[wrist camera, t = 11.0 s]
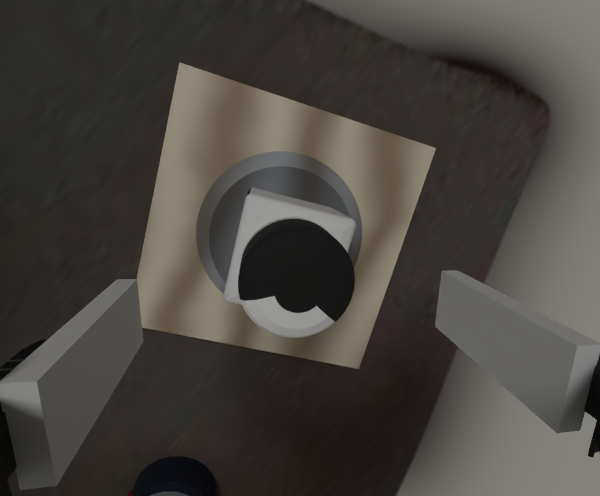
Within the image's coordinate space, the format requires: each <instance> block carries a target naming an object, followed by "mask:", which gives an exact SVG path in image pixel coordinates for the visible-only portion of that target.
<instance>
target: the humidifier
mask: <svg viewBox="0 0 600 496" xmlns="http://www.w3.org/2000/svg"><path fill="white" fill-rule="evenodd" d="M214 491H215V481H214V478H213V475H212V473H211V472H210V471H209V470H208V468H207V467H206V466H205V465H203V464H202V463H200V462H198V461H197V460H194V459H190V458H187V457H168V458H164V459H160V460H157V461H155V462H154V463H152V464H150V465H148V466H147V467H146V468H145V469H144V470H143V471H142V472H141V473H140V474H139V477H138V479H137V481H136V483H135V486H134V488H133V490H130V491H129V493H128V496H214Z"/></svg>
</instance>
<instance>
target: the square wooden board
mask: <svg viewBox="0 0 600 496" xmlns="http://www.w3.org/2000/svg"><path fill="white" fill-rule="evenodd" d="M435 150H436V148H434V147H431V146H428V145H425V144H422V143H419V142H416V141H413V140H410V139H407V138H404V137H401V136H398V135H395V134H392V133H389V132H386V131H383V130H380V129H377V128H374V127H371V126H368V125H365V124H362V123H359V122H356V121H353V120H350V119H347V118H344V117H341V116H338V115H335V114H332V113H329V112H326V111H323V110H320V109H317V108H314V107H311V106H308V105H305V104H302V103H299V102H296V101H293V100H290V99H287V98H284V97H281V96H278V95H275V94H272V93H269V92H266V91H263V90H260V89H257V88H254V87H251V86H248V85H245V84H242V83H239V82H236V81H233V80H230V79H227V78H224V77H221V76H218V75H215V74H212V73H209V72H206V71H203V70H200V69H197V68H194V67H191V66H188V65H185V64H182V63H179V68H178V73H177V78H176V83H175V88H174V93H173V98H172V103H171V108H170V113H169V118H168V123H167V128H166V134H165V139H164V144H163V149H162V154H161V159H160V164H159V169H158V174H157V179H156V184H155V189H154V194H153V199H152V204H151V210H150V215H149V220H148V225H147V230H146V235H145V240H144V245H143V250H142V255H141V260H140V265H139V270H138V275H137V283H138V293H139V303H140V313H141V323H142V327H143V328H148V329H153V330H158V331H163V332H169V333H174V334H179V335H184V336H190V337H195V338H200V339H205V340H210V341H216V342H221V343H226V344H231V345H237V346H242V347H247V348H252V349H257V350H263V351H268V352H273V353H278V354H283V355H289V356H294V357H299V358H304V359H310V360H315V361H320V362H325V363H330V364H336V365H341V366H346V367H351V368H356V369H359V367H360V364H361V361H362V358H363V355H364V352H365V349H366V347H367V344H368V341H369V338H370V335H371V332H372V330H373V327H374V324H375V321H376V318H377V315H378V312H379V310H380V307H381V304H382V301H383V298H384V295H385V292H386V290H387V287H388V284H389V281H390V278H391V275H392V272H393V270H394V267H395V264H396V261H397V258H398V255H399V252H400V250H401V247H402V244H403V241H404V238H405V235H406V233H407V230H408V227H409V224H410V221H411V218H412V215H413V213H414V210H415V207H416V204H417V201H418V198H419V195H420V193H421V190H422V187H423V184H424V181H425V178H426V175H427V173H428V170H429V167H430V164H431V161H432V158H433V155H434V153H435ZM250 188H257V189H261V190H265V191H269V192H273V193H277V194H280V195H284V196H288V197H292V198H296V199H300V200H304V201H308V202H312V203H316V204H319V205H323V206H327V207H331V208H333V209H335V210H337V211H338V212H340V213H342V214H344V215H346V216H348V217H350V218H351V219H353V220H355V222H356V227H355V231H354V234H353V237H352V241H351V244H350V247H349V251H348V254H349V256H350V258H351V261H352V264H353V267H354V272H355V287H354V292H353V296H352V299H351V301H350V304H349V305H348V307H347V309H346V311H345V312H344V313H343V315H342V316H341V317H340V318H339V319H338V320H337V321H336V322H335V323H334V324H333V325H331V326H330V327H329V328H327V329H325V330H324V331H322V332H319V333H317V334H314V335H311V336H307V337H302V338H286V337H281V336H277V335H274V334H271V333H269V332H267V331H265V330H263V329H262V328H261V327H259V326H258V325H257V324H255V323H254V322H253V321H252V320H251V318H250V317H249V316H248V315H247V313H246V311H245V310H244V308H243V306H242V305H236V304H231V303H227V302H225V301H224V299H223V295H224V290H225V286H226V282H227V277H228V273H229V268H230V264H231V260H232V255H233V251H234V247H235V242H236V238H237V233H238V229H239V225H240V220H241V216H242V211H243V207H244V203H245V198H246V195H247V193H248V190H249V189H250Z"/></svg>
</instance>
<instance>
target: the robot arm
mask: <svg viewBox="0 0 600 496" xmlns="http://www.w3.org/2000/svg"><path fill="white" fill-rule="evenodd" d="M435 327H436V328H437V329H439V330H440V331H441V332H442V333H443V334H444V335H445V336H447V337H448V338H449V339H450V340H451V341H452V342H453V343H455V344H456V345H457V346H458V347H459V348H461V349H462V350H463V351H464V352H465V353H466V354H467V355H468V356H470V357H471V358H472V359H473V360H474V361H475V362H476V363H477V364H479V365H480V366H481V367H482V368H483V369H484V370H486V371H487V372H488V373H489V374H490V375H491V376H492V377H493V378H495V379H496V380H497V381H498V382H499V383H501V385H503V386H504V387H505V388H506V389H507V390H508V391H510V392H511V393H512V394H513V395H514V396H515V397H516V398H517V399H519V400H520V401H521V402H522V403H523V404H524V405H526V406H527V407H528V408H529V409H530V410H531V411H532V412H534V413H535V414H536V415H537V416H538V417H539V418H540V419H541V420H543V421H544V422H545V423H546V424H547V425H548V426H550V427H551V428H552V429H553V430H554V431H555V432H556V433H560V432H569V431H579V430H580V429H581V425H582V421H583V417H584V413H585V412H587V413H588V414H590V415H591V416H592V417H594V418H595V419H596V420H597V422H596V426H595V429H594V433H593V437H592V441H591V444H590V448H589V453H588V456H590V457H593V456H594V453H595V452H598V451H599V452H600V343H598V342H596V341H594V340H592V339H590V338H588V337H586V336H584V335H582V334H581V333H578V332H577V331H575V330H573V329H571V328H569V327H567V326H565V325H563V324H561V323H559V322H557V321H555V320H553V319H551V318H549V317H547V316H545V315H543V314H541V313H540V312H538V311H535V310H534V309H531V308H530V307H528V306H526V305H524V304H522V303H520V302H518V301H516V300H514V299H512V298H510V297H508V296H506V295H504V294H502V293H500V292H498V291H496V290H495V289H493V288H491V287H489V286H487V285H485V284H483V283H481V282H479V281H477V280H475V279H473V278H471V277H469V276H467V275H465V274H463V273H461V272H459V271H442V274H441V282H440V290H439V298H438V306H437V314H436V322H435ZM142 343H143V333H142V323H141V313H140V303H139V293H138V283H137V279H125V280H116V281H115V282H113V283H112V284H111V285H110V286H109V287H108V288H107V289H105V290H104V291H103V292H102V293H101V294H100V295H98V296H97V297H96V298H95V299H94V300H93V301H92V302H90V303H89V304H88V305H87V306H86V307H85V308H84V309H82V310H81V311H80V312H79V313H78V314H77V315H75V316H74V317H73V318H72V319H71V320H70V321H69V322H67V323H66V324H65V325H64V326H63V327H62V328H60V329H59V330H58V331H57V332H56V333H55V334H54V335H52V336H51V337H50V338H49V339H48V340H40V341H38V342H36V343H34V344H32V345H30V346H28V347H26V348H24V349H22V350H21V351H20V352H19V353H17V354H16V355H15V356H14V357H12V358H11V359H10V360H9V362H6V363H5V364H4V365H3V366H1V367H0V496H12V494H11V491H10V488H9V485H8V481H7V479H8V478H9V476H10V475H11V474H12V472H13V471H14V470H16V475H17V479H18V484H19V488H20V490H23V489H33V488H42V487H52V486H57V484H58V483H59V481H60V479H61V478H62V476H63V474H64V473H65V471H66V469H67V468H68V466H69V464H70V463H71V461H72V459H73V458H74V456H75V454H76V453H77V451H78V449H79V448H80V446H81V444H82V443H83V441H84V439H85V438H86V436H87V434H88V433H89V431H90V430H91V428H92V426H93V425H94V423H95V421H96V420H97V418H98V416H99V415H100V413H101V411H102V410H103V408H104V406H105V405H106V403H107V401H108V400H109V398H110V396H111V395H112V393H113V391H114V390H115V388H116V386H117V385H118V383H119V381H120V380H121V378H122V376H123V375H124V373H125V371H126V370H127V368H128V366H129V365H130V363H131V361H132V360H133V358H134V356H135V355H136V353H137V351H138V350H139V348H140V346H141V345H142Z"/></svg>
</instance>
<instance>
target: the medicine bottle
mask: <svg viewBox="0 0 600 496" xmlns="http://www.w3.org/2000/svg"><path fill="white" fill-rule="evenodd" d="M355 227H356V222H355V220H353V219H351V218H350V217H348V216H346V215H344V214H342V213H340V212H338V211H337V210H335V209H333V208H331V207H327V206H323V205H319V204H316V203H312V202H308V201H304V200H300V199H296V198H292V197H288V196H284V195H280V194H277V193H273V192H269V191H265V190H261V189H257V188H250V189H249V190H248V193H247V195H246V198H245V203H244V207H243V211H242V216H241V220H240V225H239V229H238V233H237V238H236V242H235V247H234V251H233V255H232V260H231V264H230V268H229V273H228V277H227V282H226V286H225V290H224V295H223V299H224V301H225V302H227V303H231V304H236V305H242V306H243V308H244V310H245V311H246V313H247V315H248V316H249V317H250V318H251V320H252V321H253V322H254V323H255V324H257V325H258V326H259V327H261V328H262V329H263V330H265V331H267V332H269V333H271V334H274V335H277V336H281V337H286V338H302V337H307V336H311V335H314V334H317V333H319V332H322V331H324V330H325V329H327V328H329V327H330V326H331V325H333V324H334V323H335V322H336V321H337V320H338V319H339V318H340V317H341V316H342V315H343V313H344V312H345V311H346V309H347V307H348V305H349V304H350V301H351V299H352V296H353V292H354V287H355V272H354V267H353V264H352V261H351V258H350V256H349V254H348V251H349V247H350V244H351V241H352V237H353V234H354V231H355Z"/></svg>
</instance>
